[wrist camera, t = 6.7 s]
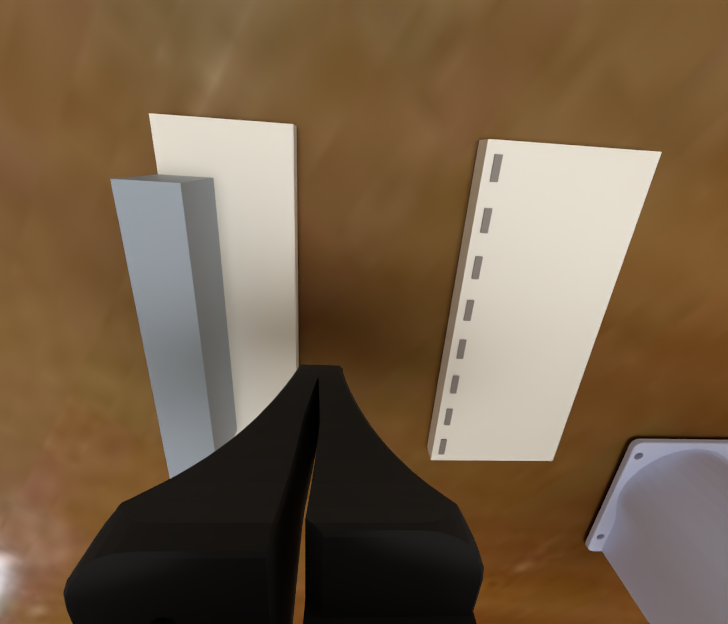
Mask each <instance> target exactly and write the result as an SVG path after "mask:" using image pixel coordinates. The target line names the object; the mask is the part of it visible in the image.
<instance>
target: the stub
mask: <svg viewBox="0 0 728 624" xmlns="http://www.w3.org/2000/svg"><path fill="white" fill-rule="evenodd" d="M149 117H150V123H151V130H152V137H153V143H154V150H155V157H156V164H157V170H158V174H156V175H145V176H135V177H124V178H113V179H110V180H111V185H112V190H113V195H114V200H115V205H116V210H117V215H118V220H119V225H120V230H121V235H122V240H123V245H124V250H125V255H126V260H127V265H128V270H129V275H130V280H131V285H132V290H133V295H134V300H135V305H136V310H137V315H138V320H139V325H140V330H141V336H142V341H143V346H144V351H145V356H146V361H147V366H148V371H149V376H150V381H151V386H152V391H153V396H154V401H155V406H156V411H157V416H158V421H159V426H160V431H161V436H162V441H163V446H164V451H165V456H166V461H167V466H168V471H169V476H170V479H171V478H172V477H174V476H176V475H178V474H179V473H181V472H183V471H185V470H186V469H188V468H190V467H191V466H193V465H195V464H196V463H198V462H199V461H201V460H203V459H204V458H206V457H207V456H209V455H210V454H212V453H213V452H214V451H216V450H217V449H219V448H220V447H221V446H223V445H224V444H226V443H227V442H228V441H230V440H231V439H232V438H234V437H235V436H236V435H237V434H238V433H240V432H241V431H242V430H243V429H244V428H245V427H247V426H248V425H249V424H250V423H251V422H252V421H253V420H254V419H255V418H256V417H257V416H258V415H259V414H260V413H261V412H262V411H263V410H264V409H265V408H266V407H267V406H268V405H269V404H270V403H271V402H272V401H273V400H274V398H275V397H276V396H277V395H278V394H279V392H280V391H281V390H282V389H283V388H284V387H285V385H286V384H287V383H288V381H289V380H290V379H291V377H292V376H293V375H294V373H295V372H296V370H297V369H298V367H299V343H298V226H297V126H295V125H294V124H284V123H271V122H258V121H244V120H231V119H218V118H204V117H191V116H178V115H164V114H151V113H149Z"/></svg>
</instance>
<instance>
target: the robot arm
mask: <svg viewBox="0 0 728 624" xmlns="http://www.w3.org/2000/svg"><path fill="white" fill-rule="evenodd" d="M316 448H317V450H316ZM315 454H316V458H315ZM314 459H315V465H314V471H313V478H312V485H311V490H310V496H309V502H308V508H307V513H306V518H305V609H304V620H303V624H476V620H475V617H474V613H473V610H474V607H475V604H476V600H477V597H478V594H479V590H480V587H481V584H482V580H483V571H484V567H483V564H482V561H481V556H480V553H479V550H478V547H477V545H476V542H475V540H474V538H473V535H472V533H471V531H470V529H469V527H468V525H467V523H466V521H465V519H464V517H463V515H462V513H461V511H460V509H459V507H458V506H457V504H455V503H454V502H453V501H451V500H450V499H448V498H447V497H445V496H444V495H443V494H441V493H440V492H438V491H437V490H436V489H434V488H433V487H431V486H430V485H428V484H427V483H426V482H425V481H423V480H422V479H421V478H420V477H419V476H417V475H416V474H415V473H414V472H412V471H411V470H410V469H409V468H408V467H407V466H406V465H405V464H404V463H403V462H402V461H401V460H400V459H399V458H398V457H397V456H396V455H395V454H394V453H393V452H392V451H391V450H390V449H389V448H388V447H387V445H386V444H385V443H384V442H383V441H382V440H381V438H380V437H379V436H378V435H377V433H376V432H375V431H374V429H373V428H372V427H371V425H370V424H369V422H368V421H367V419H366V418H365V416H364V415H363V413H362V412H361V410H360V408H359V407H358V405H357V403H356V401H355V399H354V398H353V396H352V394H351V392H350V390H349V387H348V385H347V383H346V380H345V377H344V374H343V369H342V368H341V367H340V366H331V365H301V366H299V367H298V369H297V370H296V372H295V373H294V375H293V376H292V377H291V379H290V380H289V381H288V383H287V384H286V385H285V387H284V388H283V389H282V390H281V391H280V392H279V394H278V395H277V396H276V397H275V398H274V400H273V401H272V402H271V403H270V404H269V405H268V406H267V407H266V408H265V409H264V410H263V411H262V412H261V413H260V414H259V415H258V416H257V417H256V418H255V419H254V420H253V421H252V422H251V423H250V424H249V425H248V426H247V427H245V428H244V429H243V430H242V431H241V432H240V433H238V434H237V435H236V436H235V437H234V438H232V439H231V440H230V441H228V442H227V443H226V444H224V445H223V446H221V447H220V448H219V449H217V450H216V451H214V452H213V453H212V454H210V455H209V456H207V457H206V458H204V459H203V460H201V461H199V462H198V463H196V464H195V465H193V466H191V467H190V468H188V469H186V470H185V471H183V472H181V473H179V474H178V475H176V476H174V477H172V478H171V479H169V480H167V481H165V482H163V483H161V484H159V485H157V486H155V487H153V488H151V489H149V490H147V491H145V492H143V493H141V494H139V495H137V496H135V497H133V498H131V499H129V500H127V501H124V502H122V503H121V504H120V505H119V506H118V508H117V509H116V511H115V512H114V513H113V514H112V515H111V517H110V518H109V519H108V520H107V522H106V523H105V524H104V526H103V527H102V529H101V530H100V531H99V533H98V534H97V536H96V537H95V539H94V540H93V542H92V543H91V545H90V546H89V548H88V549H87V551H86V552H85V554H84V555H83V557H82V558H81V560H80V561H79V563H78V564H77V566H76V567H75V569H74V570H73V572H72V573H71V575H70V577H69V578H68V580H67V582H66V586H65V589H64V593H63V594H64V599H65V604H66V608H67V611H68V614H69V616H70V618H71V621H72V623H73V624H293V615H294V604H295V594H296V583H297V573H298V563H299V553H300V543H301V533H302V524H303V517H304V511H305V505H306V500H307V495H308V490H309V485H310V480H311V474H312V469H313V464H314ZM585 544H586V546H587V548H588V549H589V550H590V551H602V552H603V554H604V555H605V557H606V558H607V560H608V561H609V563H610V564H611V566H612V567H613V569H614V571H615V572H616V574H617V575H618V577H619V578H620V580H621V581H622V583H623V584H624V586H625V587H626V589H627V590H628V592H629V593H630V595H631V596H632V598H633V599H634V601H635V602H636V604H637V606H638V607H639V609H640V610H641V612H642V613H643V615H644V616H645V618H646V619H647V621H648V622H649V624H728V440H707V439H636V440H633V441H632V442H631V443H630V445H629V447H628V449H627V451H626V453H625V456H624V458H623V460H622V462H621V464H620V467H619V469H618V471H617V473H616V475H615V478H614V480H613V482H612V484H611V486H610V489H609V491H608V493H607V495H606V498H605V500H604V502H603V504H602V506H601V509H600V511H599V513H598V515H597V517H596V520H595V522H594V524H593V526H592V528H591V531H590V533H589V535H588V537H587V539H586V542H585Z"/></svg>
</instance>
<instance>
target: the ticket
mask: <svg viewBox="0 0 728 624" xmlns="http://www.w3.org/2000/svg"><path fill="white" fill-rule="evenodd" d="M660 155H661V152H655V151H642V150H628V149H615V148H602V147H588V146H575V145H562V144H548V143H535V142H522V141H508V140H495V139H484V140H479V144H478V150H477V156H476V162H475V167H474V173H473V179H472V185H471V191H470V197H469V203H468V209H467V214H466V220H465V226H464V232H463V238H462V244H461V250H460V256H459V261H458V267H457V273H456V279H455V285H454V291H453V297H452V303H451V308H450V314H449V320H448V326H447V332H446V338H445V344H444V350H443V355H442V361H441V367H440V373H439V379H438V385H437V391H436V397H435V402H434V408H433V414H432V420H431V426H430V432H429V438H428V444H427V449H428V452H429V455H430V459H431V460H495V461H553V458H554V455H555V452H556V450H557V447H558V444H559V441H560V438H561V435H562V433H563V430H564V427H565V424H566V421H567V418H568V416H569V413H570V410H571V407H572V404H573V401H574V399H575V396H576V393H577V390H578V387H579V384H580V382H581V379H582V376H583V373H584V370H585V368H586V365H587V362H588V359H589V356H590V353H591V351H592V348H593V345H594V342H595V339H596V336H597V334H598V331H599V328H600V325H601V322H602V319H603V317H604V314H605V311H606V308H607V305H608V302H609V300H610V297H611V294H612V291H613V288H614V285H615V283H616V280H617V277H618V274H619V271H620V268H621V266H622V263H623V260H624V257H625V254H626V251H627V249H628V246H629V243H630V240H631V237H632V234H633V232H634V229H635V226H636V223H637V220H638V217H639V215H640V212H641V209H642V206H643V203H644V200H645V198H646V195H647V192H648V189H649V186H650V183H651V181H652V178H653V175H654V172H655V169H656V166H657V164H658V161H659V158H660Z"/></svg>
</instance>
